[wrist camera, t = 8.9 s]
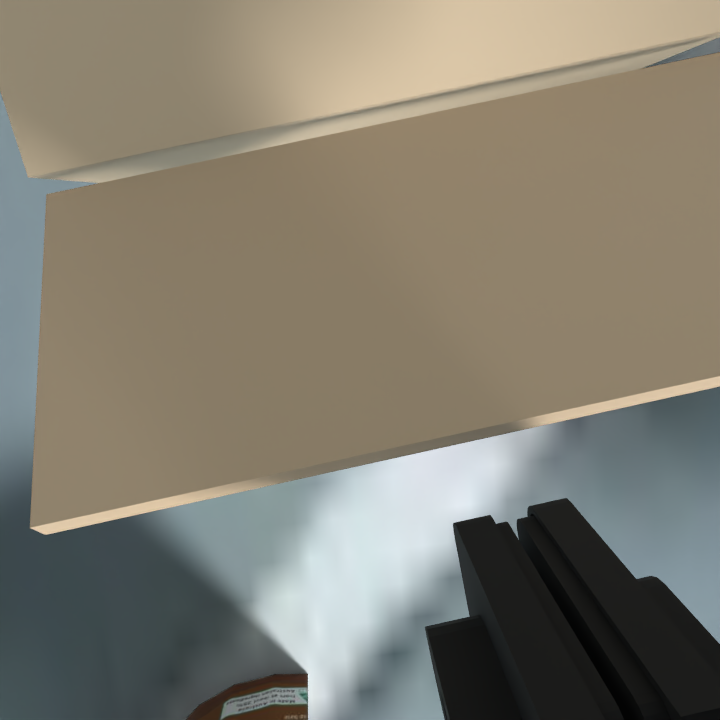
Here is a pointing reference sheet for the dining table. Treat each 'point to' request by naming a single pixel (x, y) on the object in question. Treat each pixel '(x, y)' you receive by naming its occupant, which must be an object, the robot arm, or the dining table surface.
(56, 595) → the dining table surface
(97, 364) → the flap
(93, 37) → the carton
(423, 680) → the dining table surface
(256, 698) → the food container
